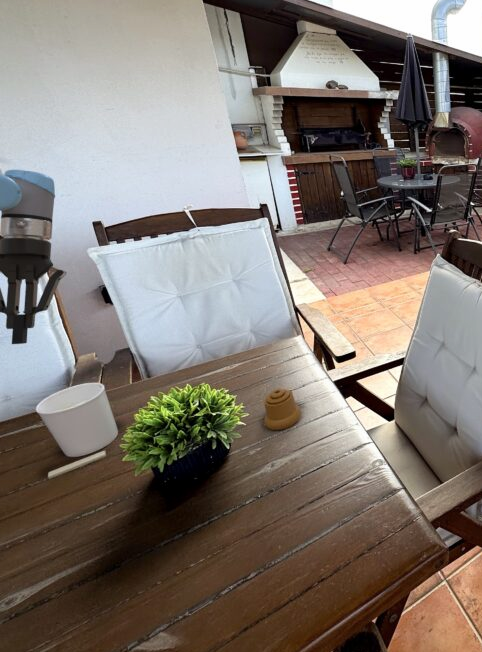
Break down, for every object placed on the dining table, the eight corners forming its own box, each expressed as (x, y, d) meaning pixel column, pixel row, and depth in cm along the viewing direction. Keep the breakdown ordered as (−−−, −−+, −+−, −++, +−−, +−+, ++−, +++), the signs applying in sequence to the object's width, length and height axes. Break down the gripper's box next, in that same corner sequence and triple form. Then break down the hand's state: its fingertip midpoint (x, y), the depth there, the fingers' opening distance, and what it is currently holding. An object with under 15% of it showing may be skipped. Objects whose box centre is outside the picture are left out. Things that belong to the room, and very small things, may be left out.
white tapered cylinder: (59, 443, 86) (35, 397, 82) (120, 420, 93) (102, 376, 88) (59, 468, 80) (34, 420, 75) (125, 441, 86) (106, 396, 82)
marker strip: (49, 479, 77) (47, 477, 77) (49, 474, 78) (48, 472, 78) (106, 456, 82) (105, 454, 82) (105, 452, 84) (104, 450, 83)
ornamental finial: (273, 437, 88) (260, 421, 92) (307, 419, 93) (294, 405, 97) (265, 407, 85) (252, 393, 89) (301, 390, 90) (287, 378, 95)
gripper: (-28, 234, 84) (-37, 347, 82) (63, 238, 92) (57, 342, 90) (-12, 240, 90) (-20, 345, 88) (72, 243, 98) (67, 340, 96)
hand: (19, 343), depth 89 cm, fingers closed
